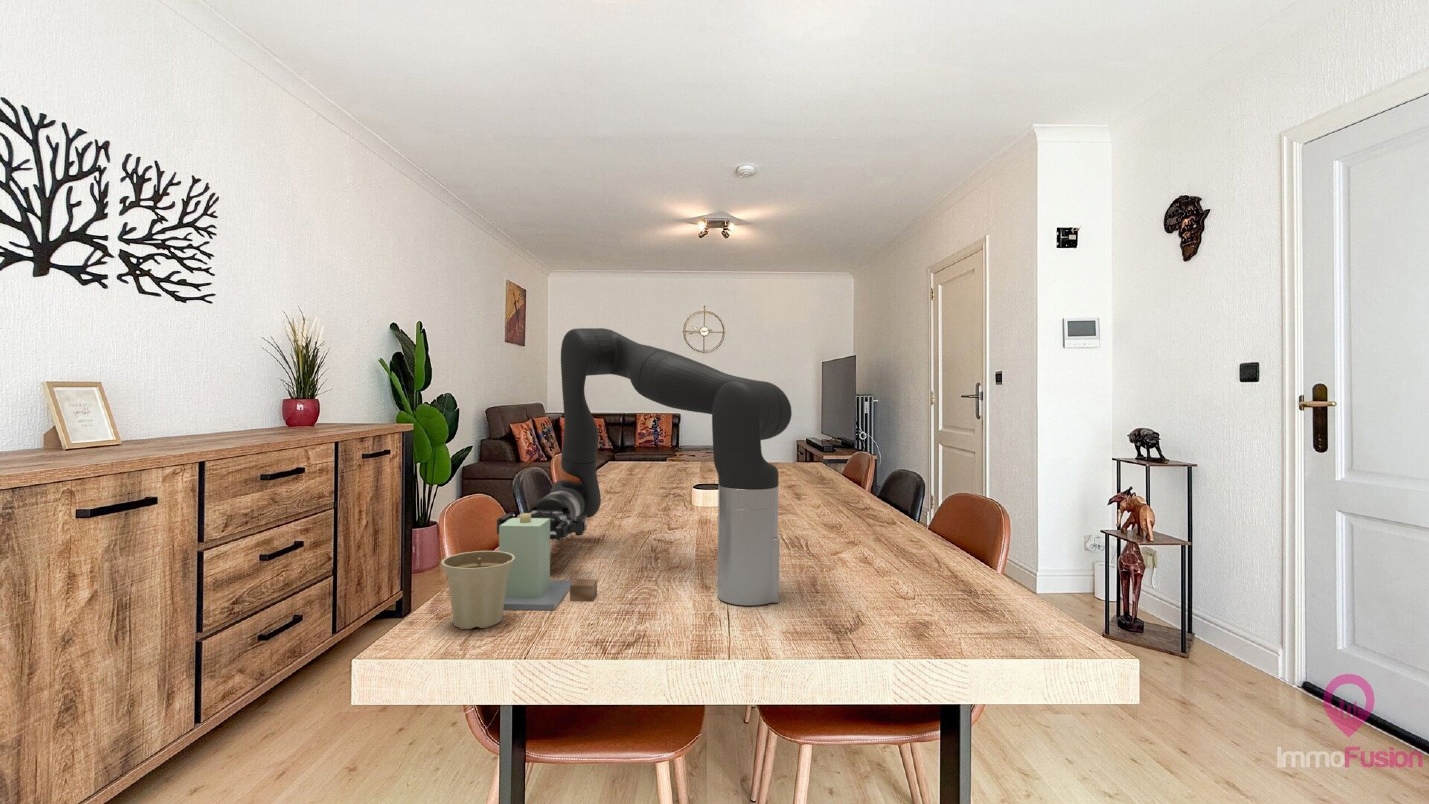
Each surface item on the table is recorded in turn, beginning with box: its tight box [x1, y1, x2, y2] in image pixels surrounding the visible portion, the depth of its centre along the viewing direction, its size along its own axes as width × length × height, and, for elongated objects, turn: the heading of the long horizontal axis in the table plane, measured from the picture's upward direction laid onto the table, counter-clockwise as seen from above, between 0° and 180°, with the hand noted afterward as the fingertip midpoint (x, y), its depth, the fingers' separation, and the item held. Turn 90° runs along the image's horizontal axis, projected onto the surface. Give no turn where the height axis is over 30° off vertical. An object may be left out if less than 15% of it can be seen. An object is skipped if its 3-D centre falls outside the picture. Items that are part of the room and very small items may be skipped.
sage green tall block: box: [498, 512, 551, 598], centre depth 99 cm, size 6×6×12 cm
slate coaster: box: [503, 579, 574, 611], centre depth 99 cm, size 12×12×1 cm
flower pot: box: [440, 550, 515, 630], centre depth 88 cm, size 9×9×9 cm
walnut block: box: [569, 578, 598, 602], centre depth 99 cm, size 3×3×2 cm
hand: (531, 533), depth 103 cm, fingers open, 8 cm apart
